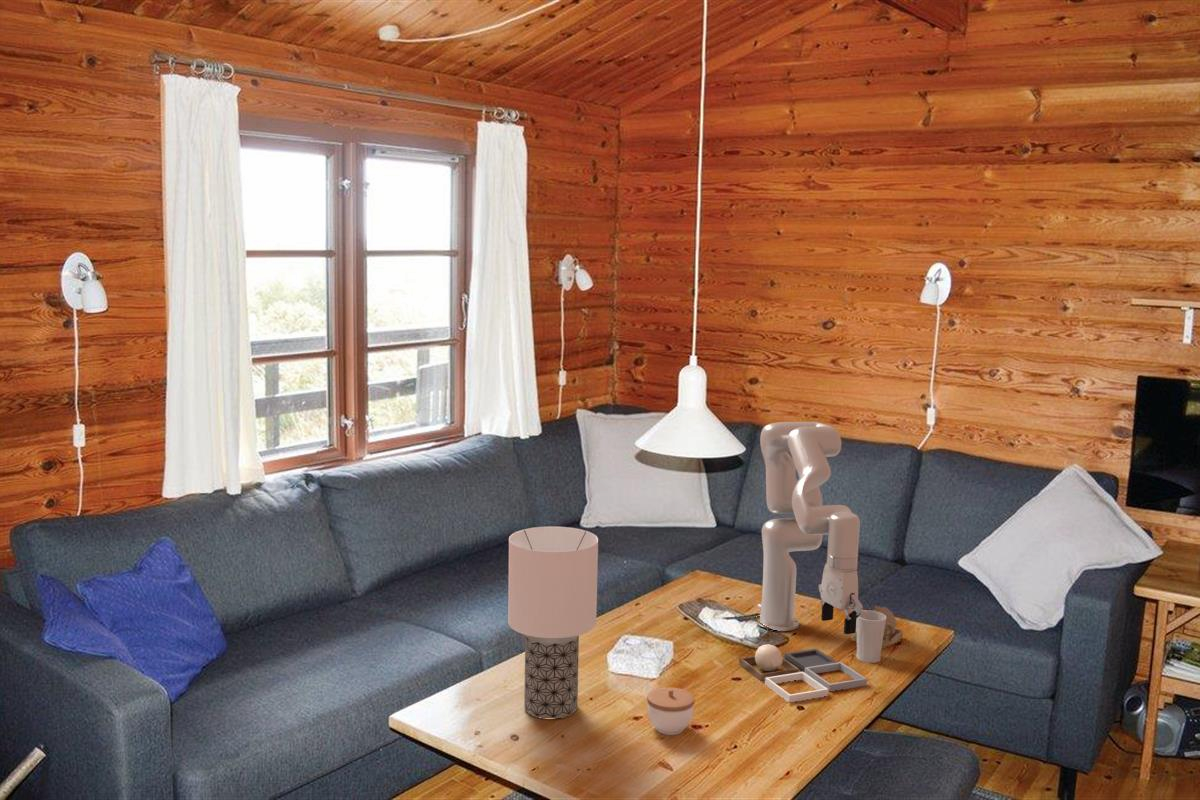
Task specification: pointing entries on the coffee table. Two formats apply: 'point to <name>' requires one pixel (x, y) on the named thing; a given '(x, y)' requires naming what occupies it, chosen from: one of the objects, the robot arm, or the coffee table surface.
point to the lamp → (552, 611)
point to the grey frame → (857, 682)
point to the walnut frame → (751, 660)
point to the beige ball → (768, 657)
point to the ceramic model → (886, 628)
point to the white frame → (817, 693)
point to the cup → (870, 635)
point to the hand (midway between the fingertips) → (838, 626)
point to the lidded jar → (670, 709)
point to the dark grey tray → (808, 658)
